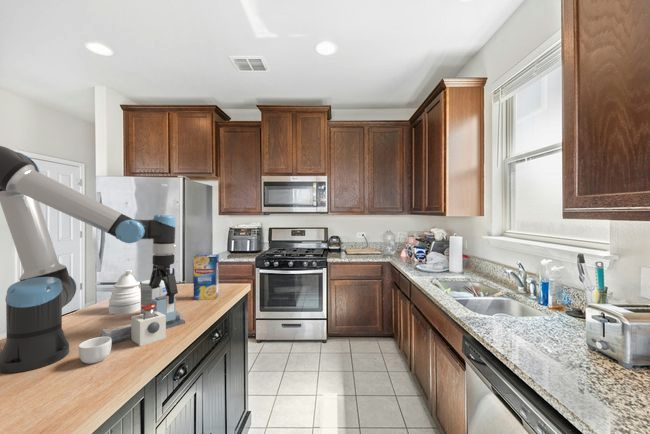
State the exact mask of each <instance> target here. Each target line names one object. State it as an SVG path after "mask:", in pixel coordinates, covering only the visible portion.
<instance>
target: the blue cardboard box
mask: <svg viewBox="0 0 650 434" xmlns="http://www.w3.org/2000/svg"><path fill="white" fill-rule="evenodd" d="M219 258H220V257H219V254H196V255H195V256H193V300H194V301H203V300H205V299H207V300H217V298H218V297H219V281H220V279H219V270H220V269H219V265H220V263H219V262H220V261H219V260H220V259H219Z"/></svg>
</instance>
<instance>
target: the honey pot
mask: <svg viewBox="0 0 650 434" xmlns="http://www.w3.org/2000/svg"><path fill="white" fill-rule="evenodd" d="M132 272H133V270H132V269H127V270H125V273H123V274H122V275H121V276H120V277H119V278H118V280H117V282H116V283H114V285H113V289H112V291H111V295H110V298H109V299H108V313H109V314H111V315H125V314H130V313H131V314H132V313H135V312H138V311H141V287H140V286H139V285H141V282H140V281H137V280H136V278H135V277H134V276H133V275H132Z"/></svg>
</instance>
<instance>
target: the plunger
mask: <svg viewBox="0 0 650 434" xmlns="http://www.w3.org/2000/svg"><path fill="white" fill-rule="evenodd" d="M155 307H156V304H155V303H149V304H144V305H142V306H141V309H143V320H144V319H148V318H152V317H154V308H155Z"/></svg>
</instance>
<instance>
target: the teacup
mask: <svg viewBox="0 0 650 434" xmlns="http://www.w3.org/2000/svg"><path fill="white" fill-rule="evenodd" d="M112 345H113V344H112V339H111V338H110V337H101V336H97V337H92V338H90V339H87V340H84V341H82V342H80V343H79V345H78V357H79V358H80V361H81V362H83V363H85V364H89V365H90V364H91V365H92V364H96V363H99V362H103V360H105V359H106V358H107V357H108V356H109V354H110V353H111V349H112Z"/></svg>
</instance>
